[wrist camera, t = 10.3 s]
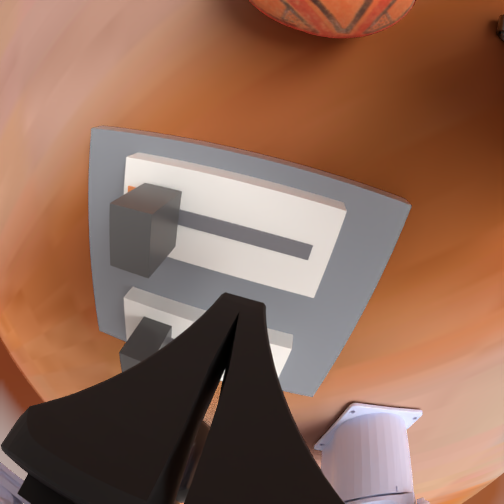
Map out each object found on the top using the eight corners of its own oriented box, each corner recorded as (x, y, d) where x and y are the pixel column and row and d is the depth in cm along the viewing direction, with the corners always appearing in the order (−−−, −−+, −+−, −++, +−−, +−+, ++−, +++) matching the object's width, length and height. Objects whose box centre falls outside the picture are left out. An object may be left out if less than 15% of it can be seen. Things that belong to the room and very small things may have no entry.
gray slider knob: (175, 246, 15) (148, 278, 12) (141, 236, 15) (110, 265, 13) (182, 191, 14) (151, 214, 11) (144, 182, 14) (109, 203, 11)
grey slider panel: (312, 385, 22) (309, 449, 17) (106, 321, 23) (69, 369, 18) (405, 198, 15) (448, 246, 10) (103, 125, 16) (32, 143, 10)
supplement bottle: (212, 444, 31) (185, 529, 20) (158, 427, 31) (124, 507, 21) (216, 419, 27) (184, 521, 17) (154, 399, 28) (109, 493, 17)
